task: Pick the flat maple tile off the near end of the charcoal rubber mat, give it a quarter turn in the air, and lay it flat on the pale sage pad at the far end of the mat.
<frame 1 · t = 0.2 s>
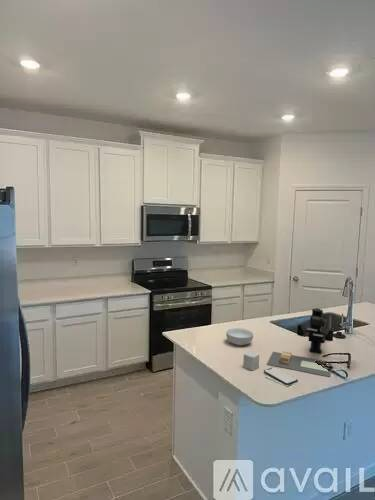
hand: (313, 337, 182), 17 cm above the table, tool horizontal, fingers open, 9 cm apart
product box: (250, 367, 183), on the table
smartphone: (280, 378, 173), on the table
cereal bowl: (239, 343, 217), on the table
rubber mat: (299, 363, 188), on the table
maple tile: (285, 360, 191), resting on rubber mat
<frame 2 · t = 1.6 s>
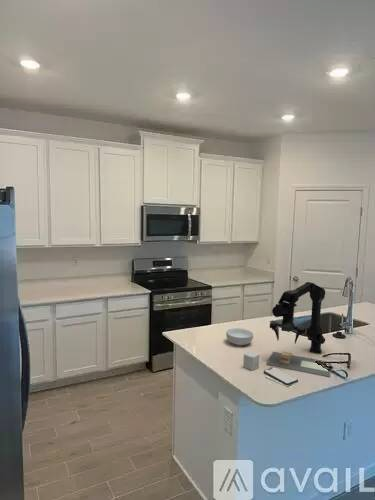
hand: (286, 342, 190), 11 cm above the table, tool pointing down, fingers open, 9 cm apart
nothing on the table moved.
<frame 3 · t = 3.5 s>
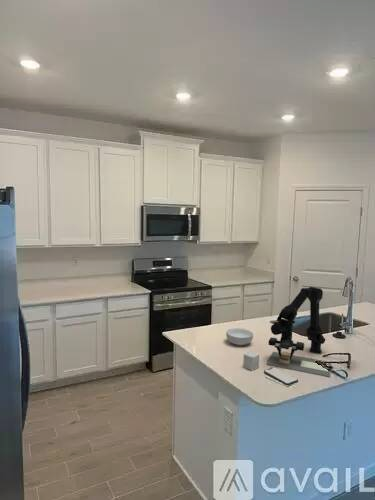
hand: (285, 358, 191), 2 cm above the table, tool pointing down, fingers closed on maple tile, 5 cm apart
maple tile: (285, 360, 191), point 1 cm above the table, touching gripper, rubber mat
everything else where it was.
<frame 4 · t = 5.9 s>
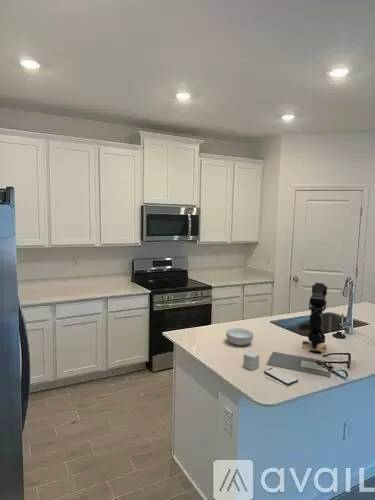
hand: (314, 347, 184), 11 cm above the table, tool pointing down, fingers closed on maple tile, 5 cm apart
maple tile: (314, 348, 184), point 10 cm above the table, touching gripper
everything else where it was.
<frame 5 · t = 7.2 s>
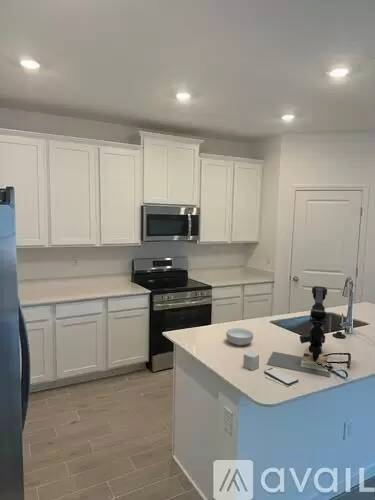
hand: (315, 359, 185), 4 cm above the table, tool pointing down, fingers closed on maple tile, 5 cm apart
maple tile: (314, 361, 185), point 3 cm above the table, touching gripper
everything else where it was.
when the fingers open (3 cm above the table, at t = 8.3 s): maple tile drops 1 cm, resting on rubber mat.
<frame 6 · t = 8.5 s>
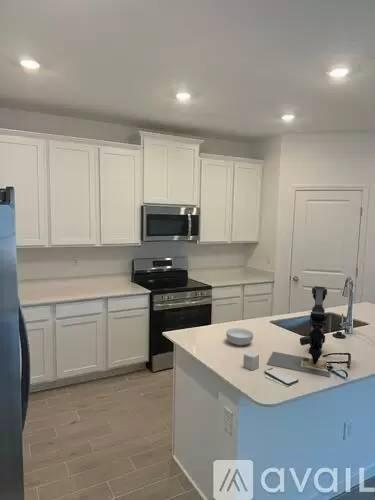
hand: (314, 361, 185), 3 cm above the table, tool pointing down, fingers open, 7 cm apart
maple tile: (314, 365, 185), point 1 cm above the table, touching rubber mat
everything else where it was.
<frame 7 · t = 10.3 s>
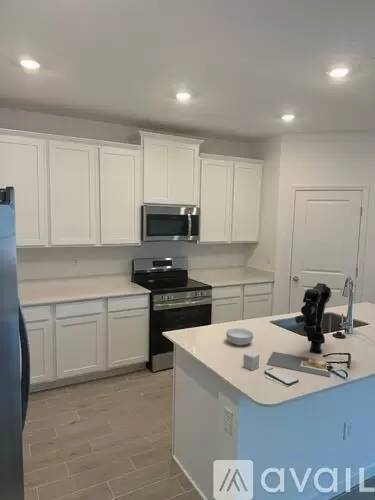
hand: (309, 338, 194), 12 cm above the table, tool pointing down, fingers open, 9 cm apart
nothing on the table moved.
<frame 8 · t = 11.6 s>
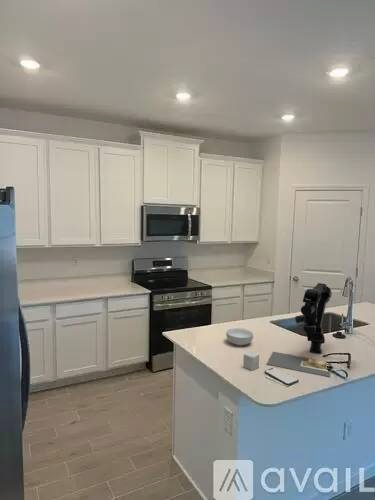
hand: (309, 338, 194), 12 cm above the table, tool pointing down, fingers open, 9 cm apart
nothing on the table moved.
at the end: maple tile inside the target area (0.1 cm from its centre), point 0.6 cm above the table; maple tile tilted 0°; the gripper is holding nothing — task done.
